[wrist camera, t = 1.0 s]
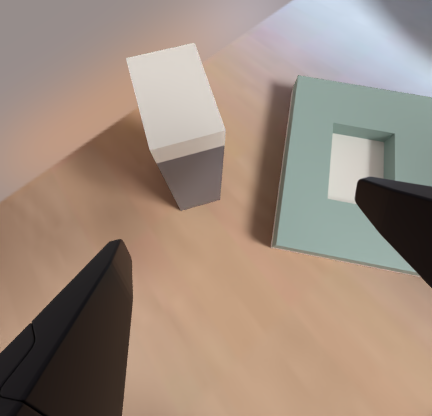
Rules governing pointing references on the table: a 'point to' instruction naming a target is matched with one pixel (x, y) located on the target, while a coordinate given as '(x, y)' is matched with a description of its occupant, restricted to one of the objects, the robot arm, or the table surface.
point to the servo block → (180, 122)
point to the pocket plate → (347, 167)
